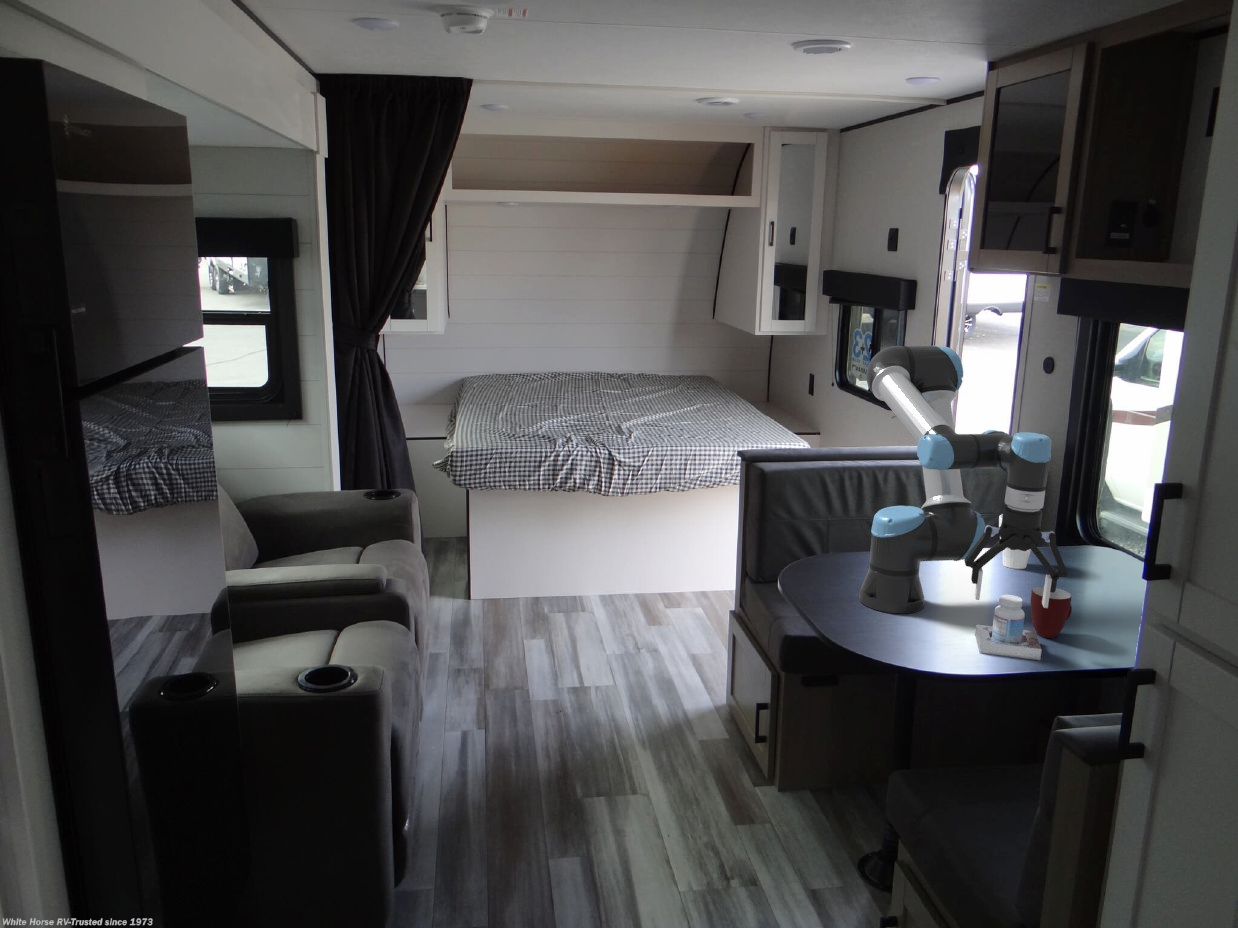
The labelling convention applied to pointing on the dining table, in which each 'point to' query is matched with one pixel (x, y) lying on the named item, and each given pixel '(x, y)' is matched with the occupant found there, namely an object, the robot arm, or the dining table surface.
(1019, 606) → the pill bottle
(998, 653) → the block
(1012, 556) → the cup
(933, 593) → the dining table surface
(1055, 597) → the mug
